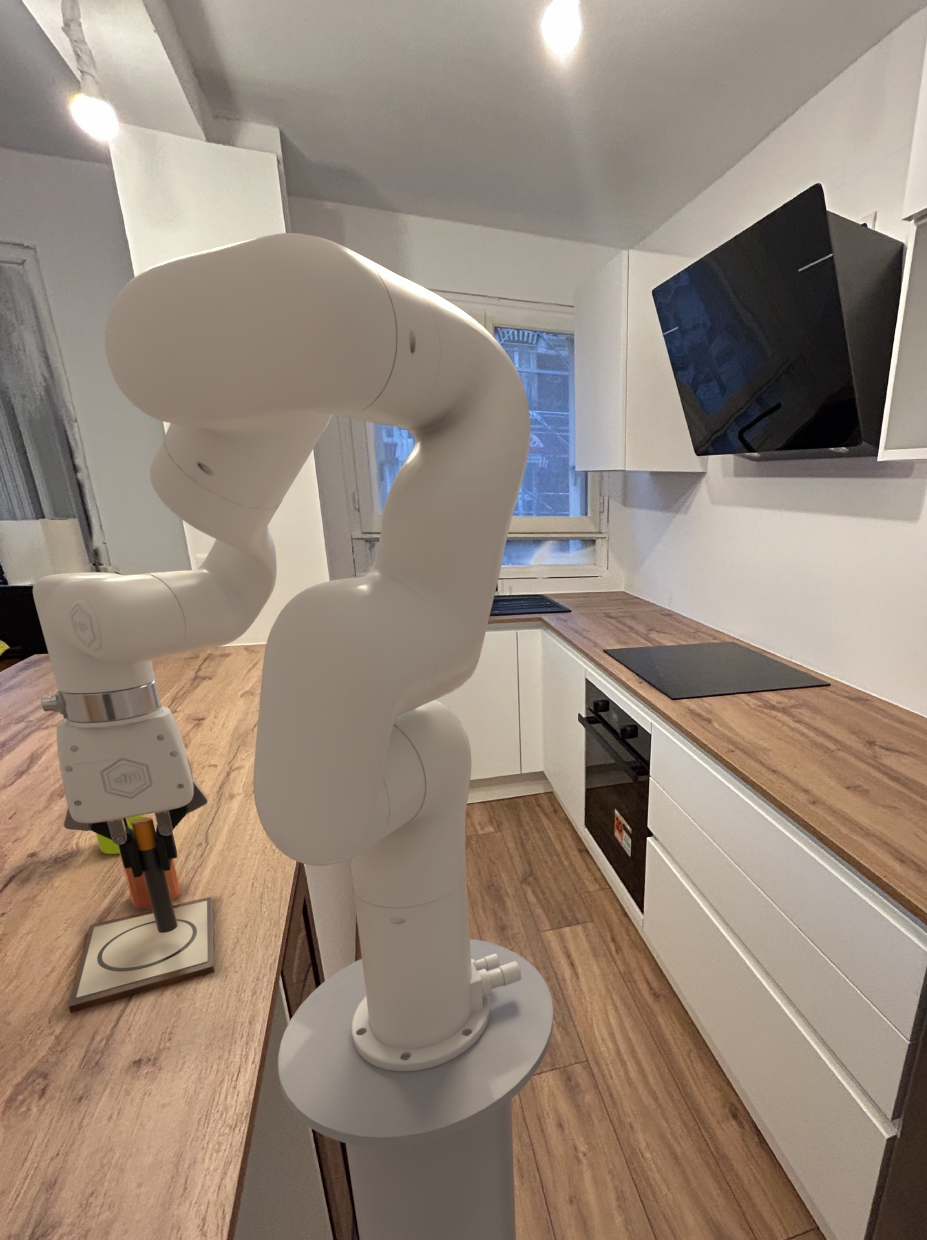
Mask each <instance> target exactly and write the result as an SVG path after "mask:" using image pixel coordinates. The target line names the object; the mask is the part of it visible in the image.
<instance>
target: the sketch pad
mask: <svg viewBox="0 0 927 1240" xmlns="http://www.w3.org/2000/svg"><path fill="white" fill-rule="evenodd" d="M213 900H214V899H213V897H212V896H209V897H204V898H200V899H195V900H190V901H187V902H183V903H178V904H177V903H176V904H173V908H174V912H175V917H176V921H177V927H176V928H175V929H174V930H172V931H170V932H166V933H160V932H158V929H157V925H156V921H155V917H154V913H153V909H152V910H148V911H143V912H140V913H139V912H138V913H134V914H131V915H125V916H122V917H118V918H113V919H109V920H105V921H104V920H103V921H100V922H97V923H92V924H90V925H89V928H88V933H87V936H86V940H85V943H84V947H83V951H82V955H81V957H80V958H81V959H80V962H79V967H78V970H77V973H76V976H75V981H74V985H73V987H72V988H73V989H72V992H71V995H70V1000H69V1003H68V1010H69V1013H71V1014H72V1013H76V1012H79V1011H83V1010H85V1009H89V1008H93V1007H97V1006H100V1005H103V1004H104V1005H105V1004H107V1003H111V1002H114V1001H117V1000H121V999H125V998H128V997H132V996H135V995H139V994H142V993H146V992H149V991H153V990H156V989H160V988H163V987H167V986H170V985H174V984H178V983H180V982H181V983H182V982H185V981H187V980H188V981H189V980H192V979H195V978H199V977H203V976H205V975H209V974H213V973H215V971H216V970H215V938H214V937H215V935H214V932H215V931H214V901H213Z"/></svg>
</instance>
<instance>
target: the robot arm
mask: <svg viewBox="0 0 927 1240" xmlns="http://www.w3.org/2000/svg"><path fill="white" fill-rule="evenodd" d="M104 348H105V349H104V350H105V354H106V358H107V363H108V366H109V369H110V372H111V374H112V377H113V379H114V382H115V383H116V385H117V387H118V389H119V390H120V391H121V393H122V394H123V395H124V396H125V397H126V398H127V400H128V401H129V402H130V403H131V405H132V406H134V407H136V408H137V409H139V410H140V411H141V412H142V413H144V414H145V415H147V416H149V417H151V418H153V419H155V420H157V421H161V422H165V423H168V424H169V426H168V428H167V430H166V431H165V435H164V437H163V438H162V440H161V443H160V445H159V447H158V450H157V451H156V453H155V455H154V458H153V459H152V461H151V464H150V467H149V475H150V483H151V485H152V488H153V490H154V493H156V495H157V497H158V498H159V499H160V500H161V502H162V504H164V505H165V506H166V507H167V509H168V510H170V512H172V513H173V514H174V515H175V516H176V517H178V518H179V519H181V520H182V521H183V522H184V523H186V524H188V525H189V526H191V527H192V528H194V529H195V530H198V531H199V532H201V533H203V534H205V535H206V536H209V537H211V538H213V539H215V541H214V543H213V545H212V547H211V548H210V550H209V552H208V554H207V555H206V557H205V559H204V561H203V562H202V563H201V565H200V566H199V567H198V568H197V569H190V570H189V569H188V570H172V571H159V572H158V571H157V572H148V573H147V572H146V573H145V572H144V573H138V574H125V575H122V574H119V573H115V572H105V571H104V572H103V571H101V572H100V571H99V572H98V571H97V572H96V571H95V572H94V571H93V572H91V571H90V572H89V571H87V572H65V573H55V574H50V575H49V574H48V575H45V576H42V577H40V578H38V579H37V580H36V581H35V582H34V583H33V587H32V595H33V596H32V597H33V600H34V604H35V608H36V612H37V615H38V619H39V623H40V626H41V630H42V634H43V638H44V642H45V645H46V649H47V654H48V656H49V657H48V658H49V660H50V664H51V668H52V671H53V676H54V678H55V682H56V686H57V689H58V691H57V692H56V694H53V695H51V696H49V697H41V699H40V703H41V707H42V710H43V711H44V713H48V712H54V713H59V714H60V715H62V716H63V720H61V721H60V722H59V723H57V725H56V745H57V746H56V747H57V748H56V749H57V757H58V763H59V770H60V775H61V776H60V777H61V781H62V786H63V791H64V795H65V796H64V797H65V800H66V801H65V802H66V804H67V805H66V806H67V811H66V814H65V818H64V822H63V827H64V828H65V829H67V830H72V831H73V830H74V831H83V832H92V833H95V834H96V833H97V834H99V835H102V836H104V837H106V838H108V839H111V840H112V841H113V843H114V844H117V845H119V849H120V853H121V857H122V861H123V865H124V868H125V869H126V868H132V872H133V876H134V878H136V877H141V875H143V867H142V863H141V859H140V855H139V851H138V847H137V843H136V839H135V836H134V832H133V829H131V828H130V827H129V824H128V820H127V818H128V817H134V816H140V815H149V814H154V815H155V821H156V828H155V832H156V835H155V843H156V848H157V852H158V856H159V860H160V864H161V868H162V870H164V871H168V870H171V859H174V860H175V859H177V858H178V849H177V845H176V841H175V837H174V829H176V827H177V826H178V825H179V824H180V823H181V822H182V820H183V819H185V817H186V816H187V814H190V813H193V812H194V811H197V810H199V809H200V808H202V807H204V806H205V805H207V804H208V802H209V801H208V798H209V797H208V794H207V793H206V791H204V789H203V788H202V787H201V786H200V784H199V783H198V782H197V781H196V779H195V778H194V777H193V776H194V775H193V771H192V768H191V764H190V760H189V757H188V753H187V750H186V749H187V748H186V746H185V743H184V740H183V737H182V734H181V732H180V729H179V726H178V725H177V721H176V719H175V717H174V715H173V713H172V712H171V709H170V708H169V707H167V706H162V702H161V699H160V693H159V689H158V685H157V679H156V675H155V672H154V667H153V661H155V660H160V659H166V658H171V657H172V656H177V655H184V654H189V653H193V652H198V651H204V650H209V649H215V648H218V647H219V648H220V647H223V646H226V645H228V644H231V643H233V642H236V641H237V640H238V639H239V638H240V637H242V636H243V635H244V634H245V633H246V632H247V631H248V630H249V629H250V627H251V626H252V625H253V624H254V622H255V621H256V620H257V618H258V616H259V615H260V613H261V612H262V610H263V609H264V607H265V606H266V604H267V603H268V601H269V599H270V598H271V595H272V593H273V592H274V589H275V586H276V582H277V581H276V580H277V575H278V574H277V573H278V572H277V566H278V565H277V551H276V546H275V542H274V539H273V536H272V534H271V531H270V529H269V524H270V522H271V521H272V519H273V517H274V515H275V514H276V513H277V511H278V509H279V507H280V505H281V504H282V502H283V500H284V498H285V497H286V495H287V493H288V492H289V490H290V488H291V487H292V485H293V483H294V482H295V480H296V478H297V477H298V475H299V473H300V472H301V470H302V468H303V466H304V464H306V462H307V460H308V459H309V457H310V456H311V454H312V452H313V450H314V449H315V447H316V445H317V443H318V442H319V440H320V438H321V436H322V435H323V433H324V432H325V431H326V429H327V426H329V424H330V421H331V419H332V417H333V416H339V417H344V418H347V419H348V418H349V419H353V420H358V421H363V422H368V423H373V424H377V425H382V426H388V427H395V428H400V429H404V430H406V431H408V432H410V433H411V435H412V436H413V438H414V439H415V442H414V443H415V444H414V447H413V449H412V451H411V452H410V453H409V455H408V457H407V458H406V460H405V461H404V463H403V464H402V466H401V467H400V469H399V470H398V473H397V474H396V476H395V477H394V479H393V481H392V483H391V485H390V488H389V491H388V494H387V497H386V501H385V503H384V506H383V511H382V519H381V528H380V529H381V530H380V536H379V540H378V545H377V550H376V554H375V557H374V561H373V564H372V566H371V569H370V570H369V572H367V573H366V574H365V575H364V576H356V577H348V578H341V579H333V580H328V581H324V582H321V583H317V584H315V585H312V586H310V587H307V588H305V589H304V590H302V591H300V592H299V593H297V594H296V595H295V596H293V597H292V598H291V599H290V600H289V601H288V602H287V603H286V604H285V605H284V607H283V608H282V609H281V610H280V612H279V613H278V614H277V617H276V619H275V621H274V622H273V624H272V627H271V628H270V631H269V633H268V637H267V639H266V645H265V648H264V656H263V663H262V672H261V683H260V685H261V686H260V692H259V694H260V695H259V704H258V705H259V706H258V714H257V715H258V717H257V728H256V736H255V737H256V738H255V749H254V761H253V763H254V764H253V776H252V777H253V779H252V780H253V781H252V783H253V799H254V803H255V808H256V813H257V816H258V819H259V822H260V825H261V826H262V829H263V830H264V833H265V834H266V836H267V837H268V839H269V840H270V842H271V843H272V844H273V845H274V847H275V848H277V850H278V851H280V852H281V853H282V854H283V855H285V856H286V857H288V858H289V859H290V860H293V861H295V862H296V863H300V864H303V865H308V866H314V867H315V866H317V867H322V866H332V865H337V864H340V863H343V862H346V861H349V860H351V861H350V868H351V869H350V870H351V881H352V889H353V897H354V906H355V915H356V924H357V931H358V939H359V940H358V941H359V949H360V954H361V955H360V957H361V958H362V966H363V974H364V982H365V991H366V996H365V997H364V999H363V1000H362V1001H361V1003H360V1004H359V1005H358V1007H357V1009H356V1011H355V1013H354V1015H353V1019H352V1024H351V1029H352V1038H353V1043H354V1046H355V1048H356V1050H357V1052H358V1053H359V1054H360V1055H361V1056H362V1057H363V1058H364V1059H365V1060H366V1061H367V1062H369V1063H371V1064H372V1065H374V1066H376V1067H380V1068H383V1069H386V1070H392V1071H400V1072H402V1071H418V1070H423V1069H428V1068H432V1067H435V1066H438V1065H441V1064H444V1063H446V1062H448V1061H450V1060H452V1059H454V1058H456V1057H457V1056H459V1055H460V1054H462V1053H463V1052H465V1051H466V1050H467V1049H468V1048H470V1047H471V1046H472V1045H473V1044H474V1043H475V1042H476V1041H477V1040H478V1038H479V1037H480V1036H481V1034H482V1033H483V1032H484V1030H485V1027H486V1025H487V1023H488V1020H489V1015H490V1000H489V995H490V994H491V993H492V989H494V988H497V987H500V986H506V985H509V984H511V983H514V982H517V981H520V980H521V971H520V968H519V965H518V963H517V962H516V961H514V962H511V963H508V964H505V965H502V966H499V959H498V956H497V954H496V953H495V954H492V955H490V956H487V957H484V958H483V959H480V960H477V961H474V959H471V952H470V939H471V937H470V936H471V935H470V933H471V932H470V918H469V915H470V914H469V900H468V899H469V897H468V896H469V895H468V881H467V879H468V877H467V873H468V871H467V853H466V851H467V850H466V849H467V848H466V821H467V820H466V819H467V809H468V800H469V792H470V785H471V778H472V764H473V763H472V749H471V743H470V739H469V736H468V733H467V731H466V728H465V726H464V725H463V723H462V721H461V720H460V718H459V717H458V716H457V715H456V713H454V711H452V709H450V708H449V707H448V706H446V705H445V704H443V703H442V702H440V701H438V699H440V698H442V697H444V696H446V695H449V694H451V693H453V692H455V691H456V690H458V689H459V688H461V687H462V686H464V684H466V682H467V681H469V680H470V679H471V677H472V676H473V675H474V673H475V671H476V670H477V667H478V664H479V662H480V657H481V655H482V654H481V653H482V650H483V646H484V641H485V637H486V632H487V628H488V624H489V619H490V616H491V611H492V607H493V603H494V599H495V594H496V591H497V587H498V582H499V577H500V575H501V569H502V565H503V559H504V555H505V554H504V553H505V549H506V543H507V540H508V536H509V532H510V527H511V525H512V524H511V523H512V520H513V515H514V513H515V508H516V505H517V501H518V498H519V495H520V491H521V488H522V483H523V480H524V476H525V473H526V468H527V464H528V459H529V458H528V457H529V451H530V444H531V413H530V406H529V402H528V397H527V393H526V389H525V387H524V383H523V381H522V379H521V376H520V374H519V371H518V370H517V368H516V366H515V364H514V362H513V361H512V359H511V358H510V356H509V354H508V353H507V352H506V351H505V349H504V348H503V346H502V345H501V344H500V343H499V342H498V341H497V339H496V338H495V337H494V336H493V335H492V334H491V333H490V332H489V330H487V329H486V328H485V327H484V326H483V325H482V324H480V323H479V322H478V321H477V320H476V319H474V318H473V317H472V316H471V315H469V314H468V313H466V312H465V311H464V310H462V309H460V308H459V307H458V306H456V305H455V304H453V303H451V302H450V301H448V300H446V299H445V298H443V297H441V296H440V295H438V294H437V293H435V292H432V291H431V290H429V289H427V288H425V287H424V286H421V285H419V284H417V283H415V282H413V281H411V280H409V279H407V278H405V277H402V276H401V275H398V274H397V273H395V272H393V271H391V270H389V269H388V268H386V267H384V266H382V265H380V264H378V263H376V262H374V261H373V260H371V259H369V258H367V257H365V256H364V255H362V254H359V253H358V252H356V251H354V250H352V249H350V248H348V247H346V246H344V245H342V244H339V243H337V242H335V241H333V240H330V239H327V238H325V237H324V238H323V237H320V236H315V235H309V234H305V233H296V232H287V233H286V232H282V233H274V234H268V235H263V236H259V237H256V238H252V239H248V240H247V239H246V240H243V241H240V242H236V243H231V244H228V245H227V244H226V245H224V246H223V245H222V246H220V247H215V248H212V249H207V250H204V251H199V252H195V253H191V254H187V255H184V256H180V257H176V258H172V259H169V260H166V261H162V262H161V263H158V264H156V265H153V266H151V267H148V268H147V269H144V270H143V271H141V272H140V273H138V274H137V275H135V276H134V277H133V278H131V279H130V280H129V281H128V282H127V283H126V284H125V285H124V286H123V287H122V289H121V290H120V291H119V292H118V294H117V296H116V297H115V299H114V301H113V303H112V304H111V307H110V309H109V313H108V315H107V320H106V325H105V331H104ZM97 834H96V835H97ZM120 853H119V854H120ZM497 967H498V968H497ZM494 968H497V969H494ZM491 969H494V970H491ZM488 970H491V971H488ZM487 971H488V972H487Z"/></svg>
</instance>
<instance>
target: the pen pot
mask: <svg viewBox="0 0 927 1240" xmlns="http://www.w3.org/2000/svg"><path fill="white" fill-rule="evenodd" d="M119 857H120V861H121V865H122V869H123V873H124V877H125V881H126V885H127V890H128V895H129V897H130V901H131V903H132V904H131V905H132V906H133V907H134V908H137V909H152V905H151V901H150V897H149V893H148V889H147V884H146V880H145V876H144V872H143V875H141V877H136V878H134V876H133V872H132V868H126V869H125V868H124V865H123V861H122V857H121V853H119ZM165 874H166V878H167V883H168V887H169V891H170V895H171V900H172V901H174V900H175V899H177V898H178V897H179V896H180V894H181V887H180V881H179V876H178V872H177V867H176V862H175V858H174V859H171V870H168V871H165Z"/></svg>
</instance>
